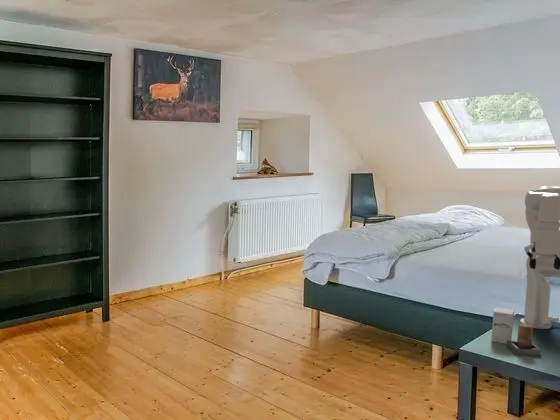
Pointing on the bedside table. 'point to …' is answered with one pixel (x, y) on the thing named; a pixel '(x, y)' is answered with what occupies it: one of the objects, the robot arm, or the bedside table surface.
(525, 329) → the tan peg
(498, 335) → the supplement box
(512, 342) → the socket
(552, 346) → the bedside table surface
